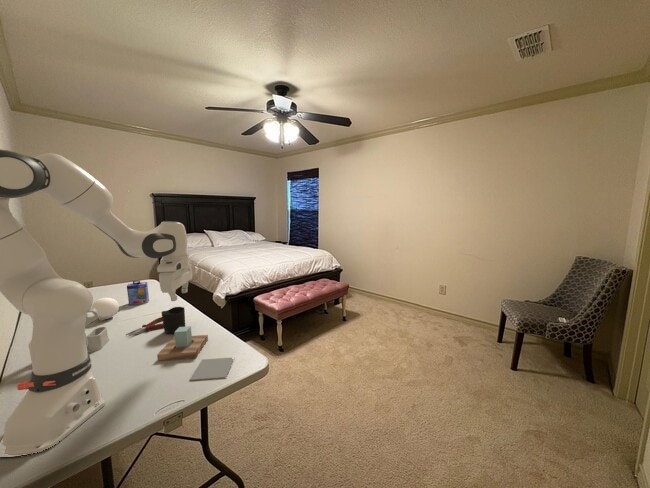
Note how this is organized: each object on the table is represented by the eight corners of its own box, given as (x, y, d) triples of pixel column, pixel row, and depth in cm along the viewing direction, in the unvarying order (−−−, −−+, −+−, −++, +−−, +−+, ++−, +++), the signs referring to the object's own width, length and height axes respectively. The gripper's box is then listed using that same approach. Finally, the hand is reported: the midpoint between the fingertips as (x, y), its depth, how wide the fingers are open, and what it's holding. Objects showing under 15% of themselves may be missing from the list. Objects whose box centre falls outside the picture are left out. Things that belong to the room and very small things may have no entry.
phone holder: (111, 339, 119) (106, 300, 116) (101, 350, 109) (95, 308, 107) (61, 346, 113) (55, 306, 110) (46, 359, 103) (39, 315, 101)
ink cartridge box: (128, 305, 160) (125, 282, 158) (130, 302, 165) (127, 280, 163) (147, 302, 164) (145, 280, 162) (149, 300, 169) (146, 278, 167)
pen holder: (165, 328, 129) (163, 308, 128) (187, 324, 132) (185, 305, 131) (161, 336, 120) (159, 315, 119) (184, 333, 123) (182, 312, 122)
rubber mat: (226, 378, 90) (226, 376, 90) (189, 380, 89) (189, 379, 89) (234, 358, 102) (234, 357, 102) (202, 360, 101) (202, 359, 101)
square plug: (188, 352, 107) (186, 331, 105) (176, 353, 106) (174, 332, 105) (192, 346, 111) (190, 326, 110) (181, 347, 111) (179, 326, 109)
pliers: (121, 334, 123) (121, 329, 123) (166, 319, 140) (165, 314, 140) (133, 341, 117) (132, 335, 117) (178, 324, 134) (177, 319, 134)
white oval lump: (120, 321, 142) (109, 317, 150) (125, 298, 144) (113, 296, 152) (91, 322, 131) (80, 318, 139) (96, 298, 133) (85, 295, 141)
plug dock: (196, 358, 102) (195, 352, 102) (157, 360, 101) (157, 354, 101) (208, 340, 116) (207, 334, 116) (174, 342, 115) (174, 336, 115)
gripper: (179, 257, 114) (182, 288, 116) (154, 268, 93) (158, 306, 95) (194, 257, 114) (197, 288, 116) (173, 268, 94) (176, 305, 96)
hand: (179, 296), depth 106 cm, fingers open, 8 cm apart
